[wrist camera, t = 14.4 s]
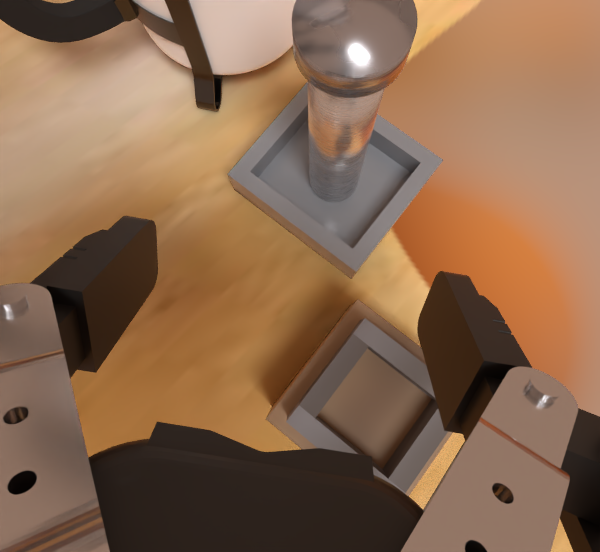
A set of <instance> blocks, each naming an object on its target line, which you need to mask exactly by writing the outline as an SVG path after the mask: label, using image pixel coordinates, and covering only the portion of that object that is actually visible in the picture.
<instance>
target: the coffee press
mask: <svg viewBox="0 0 600 552" xmlns="http://www.w3.org/2000/svg"><path fill="white" fill-rule="evenodd" d="M295 2H296V0H74V1H71V2H67V3H50V2H46V1H43V0H0V19H1V20H2V21H4V22H5V23H6V24H8V25H10V26H11V27H13V28H14V29H16V30H18V31H20V32H22V33H24V34H26V35H28V36H31V37H34V38H37V39H40V40H45V41H49V42H60V43H62V42H73V41H79V40H83V39H86V38H90V37H92V36H95V35H97V34H100V33H102V32H104V31H107V30H109V29H111V28H113V27H115V26H117V25H119V24H120V23H122V22H124V21H131V20H133V19H135V18H138V19H139V20H140V21H141V22H142V23H143V25H144V27H145V29H146V30H147V32H148V34H149V35H150V37H151V38H152V40H153V41H154V42H155V43H156V45H157V46H158V47H159V48H160V49H161V50H162V51H163V52H164V53H165V54H166V55H168V56H169V57H170V58H172V59H173V60H175V61H176V62H178V63H180V64H181V65H183V66H185V67H188V68H190V69H192V70H193V75H194V84H195V97H196V105H197V107H198V108H202V109H208V110H213V111H218V110H219V108H220V105H221V96H222V77H223V75H235V74H242V73H246V72H250V71H254V70H256V69H259V68H262V67H264V66H266V65H268V64H270V63H272V62H273V61H275V60H276V59H278V58H279V57H281V56H282V55H283V54H284V53H286V52H287V51H288V50H289V49H290V48H291V47H292V46H293V36H292V12H293V7H294V4H295Z"/></svg>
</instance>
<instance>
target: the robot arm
mask: <svg viewBox="0 0 600 552" xmlns="http://www.w3.org/2000/svg"><path fill="white" fill-rule="evenodd" d="M157 274H158V260H157V237H156V225H155V223H154V221H152V220H147V219H141V218H136V217H130V216H123V217H122V218H121V219H120V220H119V221H118V222H116V223H115V224H114V225H113V226H112V227H111V228H110V229H109V230H100V231H98V232H96V233H93V234H91V235H88V236H86V237H84V238H83V239H82V240H80V241H79V242H78V243H77V244H76V245H75V246H73V249H70V250H69V251H67V252H66V253H65V254H64V255H63V257H60V258H59V259H58V260H57V261H56V262H54V263H53V264H52V265H51V266H50V267H49V268H47V269H46V270H45V271H44V272H43V273H41V274H40V275H39V276H38V277H37V278H35V279H34V280H33V281H32V282H31V283H30V284H29V283H15V284H8V285H3V286H0V552H550V551H551V548H552V544H553V540H554V537H555V533H556V529H557V526H558V522H559V518H560V520H561V522H562V524H563V527H564V529H565V532H566V534H567V537H568V539H569V541H570V544H571V546H572V549H573V551H574V552H600V417H599V416H596V415H594V414H591V413H588V412H586V411H584V410H581V409H579V408H578V404H577V402H576V400H575V398H574V396H573V395H572V394H571V392H570V391H569V390H568V389H567V388H566V387H565V386H563V384H561V383H560V382H559V381H557V380H556V379H555V378H553V377H551V376H550V375H548V374H546V373H544V372H542V371H539V370H537V369H533V368H532V366H531V365H530V363H529V361H528V360H527V358H526V356H525V355H524V353H523V351H522V350H521V348H520V346H519V344H518V343H517V341H516V339H515V337H514V336H513V335H511V331H510V329H509V327H508V326H507V324H505V320H504V319H503V317H502V315H501V314H500V312H499V310H498V308H497V307H495V306H494V305H493V304H492V303H491V302H490V301H489V300H488V299H487V298H485V297H484V296H481V295H479V294H478V292H477V290H476V288H475V287H474V285H473V283H472V281H471V279H470V278H469V276H467V275H461V274H454V273H449V272H443V271H440V272H439V273H438V274H437V275H436V277H435V279H434V281H433V284H432V286H431V289H430V291H429V294H428V296H427V299H426V301H425V304H424V306H423V308H422V311H421V313H420V316H419V320H418V337H419V341H420V344H421V348H422V351H423V355H424V359H425V362H426V366H427V370H428V373H429V377H430V380H431V384H432V388H433V391H434V395H435V399H436V402H437V406H438V409H439V413H440V417H441V420H442V424H443V428H444V431H448V432H455V433H461V434H463V435H464V438H465V442H464V443H463V445H462V447H461V448H460V450H459V452H458V453H457V455H456V457H455V458H454V460H453V462H452V463H451V465H450V466H449V468H448V470H447V471H446V473H445V475H444V476H443V478H442V480H441V481H440V483H439V485H438V486H437V488H436V490H435V491H434V493H433V495H432V496H431V498H430V500H429V501H428V503H427V504H426V506H425V508H424V509H423V510H422V509H421V507H420V506H419V505H418V504H417V503H416V502H414V501H413V500H412V499H411V498H410V497H409V496H407V495H406V494H405V493H404V492H402V491H401V490H400V489H398V488H397V487H395V486H394V485H392V484H391V483H389V482H387V481H385V480H383V479H382V478H380V477H377V476H375V475H374V474H373V463H372V456H366V455H360V454H354V453H347V452H341V451H335V450H329V449H323V448H314V449H302V450H290V451H278V452H261V451H258V450H255V449H253V448H251V447H248V446H246V445H244V444H241V443H239V442H237V441H234V440H232V439H229V438H227V437H225V436H222V435H220V434H218V433H215V432H213V431H211V430H205V429H198V428H192V427H186V426H180V425H174V424H167V423H161V422H157V423H156V426H155V428H154V430H153V432H152V435H151V437H150V439H144V440H137V441H132V442H127V443H124V444H120V445H117V446H113V447H111V448H108V449H106V450H103V451H101V452H99V453H97V454H95V455H93V456H91V457H89V458H88V455H87V450H86V446H85V442H84V437H83V433H82V428H81V424H80V420H79V415H78V411H77V407H76V402H75V398H74V393H73V389H72V385H71V380H70V378H71V377H72V375H73V374H74V373H75V371H76V370H83V371H89V372H95V373H96V372H97V370H98V369H99V367H100V366H101V364H102V363H103V362H104V360H105V359H106V357H107V356H108V354H109V353H110V351H111V350H112V348H113V347H114V345H115V344H116V343H117V341H118V340H119V338H120V337H121V335H122V334H123V332H124V331H125V329H126V328H127V327H128V325H129V324H130V322H131V321H132V319H133V318H134V316H135V315H136V313H137V312H138V311H139V309H140V308H141V306H142V305H143V303H144V302H145V300H146V299H147V297H148V296H149V295H150V293H151V292H152V290H153V288H154V286H155V283H156V280H157Z"/></svg>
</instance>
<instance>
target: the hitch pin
mask: <svg viewBox="0 0 600 552" xmlns="http://www.w3.org/2000/svg"><path fill="white" fill-rule="evenodd" d="M416 29H417V11H416V7H415V4H414V1H413V0H296V2H295V4H294V7H293V12H292V36H293V51H294V57H295V61H296V64H297V66H298V68H299V70H300V72H301V73H302V75H303V76H304V77H305V78H306V79H307V80H308V127H309V177H310V186H311V188H312V190H313V192H314V193H315V194H316V196H318V197H319V198H320V199H322V200H324V201H327V202H340V201H343V200H345V199H347V198H349V197H350V196H351V195H352V194H353V193H354V191H355V189H356V187H357V184H358V180H359V177H360V173H361V170H362V166H363V163H364V159H365V156H366V152H367V148H368V145H369V141H370V138H371V134H372V131H373V127H374V124H375V120H376V116H377V113H378V109H379V105H380V102H381V99H382V95H383V91H384V88H386V87H387V86H389V84H391V83H392V82H393V81H394V80H395V79H396V78H397V77H398V76H399V74H400V73H401V71H402V70H403V67H404V66H405V63H406V61H407V58H408V55H409V52H410V49H411V45H412V42H413V39H414V36H415V33H416Z"/></svg>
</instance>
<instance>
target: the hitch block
mask: <svg viewBox="0 0 600 552" xmlns="http://www.w3.org/2000/svg"><path fill="white" fill-rule="evenodd" d="M266 419H267V420H268V421H269V422H270V423H271V424H272V425H274V426H275V427H276V428H277V429H278V430H280V431H281V432H282V433H283V434H284V435H286V436H287V437H288V438H289V439H290V440H292V441H293V442H294V443H295V444H296V445H298V446H299V447H300V448H301V449H314V448H323V449H329V450H335V451H341V452H347V453H354V454H360V455H366V456H372V463H373V474H374V475H375V476H377V477H380V478H382V479H383V480H385V481H387V482H389V483H391V484H392V485H394V486H395V487H397V488H398V489H400V490H401V491H402V492H404V493H405V494H406V495H407V496H409V495H410V494H411V492H412V491H413V489H414V488H415V486H416V485H417V483H418V482H419V481H420V479H421V478H422V476H423V475H424V473H425V472H426V470H427V469H428V468H429V466H430V465H431V463H432V462H433V460H434V459H435V457H436V456H437V455H438V453H439V452H440V450H441V449H442V447H443V446H444V444H445V443H446V442H447V440H448V439H449V437H450V436H451V434H452V433H453V432H448V431H444V428H443V424H442V420H441V417H440V413H439V409H438V406H437V402H436V399H435V395H434V391H433V388H432V384H431V380H430V377H429V373H428V370H427V366H426V362H425V359H424V355H423V351H422V348H421V347H419V346H418V345H417V344H416V343H414V342H413V341H412V340H410V339H409V338H408V337H406V336H405V335H404V334H403V333H401V332H400V331H399V330H397V329H396V328H395V327H393V326H392V325H391V324H390V323H388V322H387V321H386V320H384V319H383V318H382V317H380V316H379V315H378V314H377V313H375V312H374V311H373V310H371V309H370V308H369V307H367V306H366V305H365V304H363V303H362V302H361V301H360V300H356V301H355V302H354V303H353V304H352V305H351V306H350V307H349V308H348V309H347V310H346V312H345V313H344V314H343V316H342V317H341V318H340V319H339V321H338V322H337V323H336V325H335V326H334V327H333V329H332V330H331V331H330V332H329V334H328V335H327V336H326V338H325V339H324V340H323V342H322V343H321V344H320V345H319V347H318V348H317V349H316V351H315V352H314V353H313V355H312V356H311V357H310V358H309V360H308V361H307V362H306V364H305V365H304V366H303V368H302V369H301V370H300V371H299V373H298V374H297V375H296V377H295V378H294V379H293V381H292V382H291V383H290V384H289V386H288V387H287V388H286V390H285V391H284V392H283V394H282V395H281V396H280V397H279V399H278V400H277V401H276V403H275V404H274V405H273V407H272V408H271V410H270V412H269V414H268V416H267V418H266Z"/></svg>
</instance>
